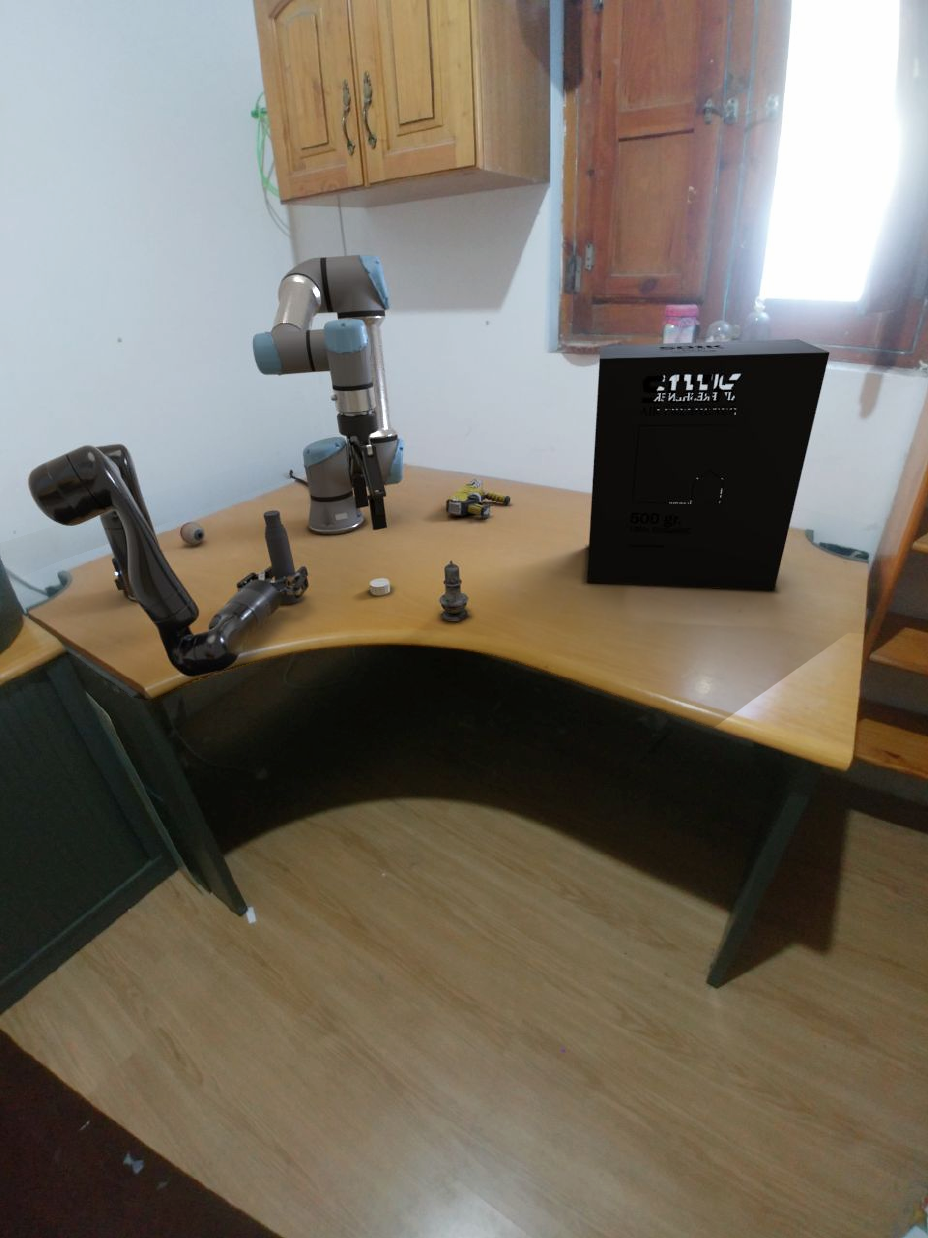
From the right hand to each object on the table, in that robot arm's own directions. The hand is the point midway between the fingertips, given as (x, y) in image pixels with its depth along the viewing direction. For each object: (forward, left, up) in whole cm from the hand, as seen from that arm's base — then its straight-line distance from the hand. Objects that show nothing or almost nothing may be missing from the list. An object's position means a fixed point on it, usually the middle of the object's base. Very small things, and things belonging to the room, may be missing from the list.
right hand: (370, 517), depth 125 cm
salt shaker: (+20, +6, -17) cm, 27 cm away
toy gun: (-27, +50, -17) cm, 59 cm away
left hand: (-11, -16, -11) cm, 22 cm away
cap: (0, 0, -15) cm, 15 cm away
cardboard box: (+35, +56, -17) cm, 68 cm away
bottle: (-9, -17, -17) cm, 26 cm away
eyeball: (-58, -24, -17) cm, 65 cm away
